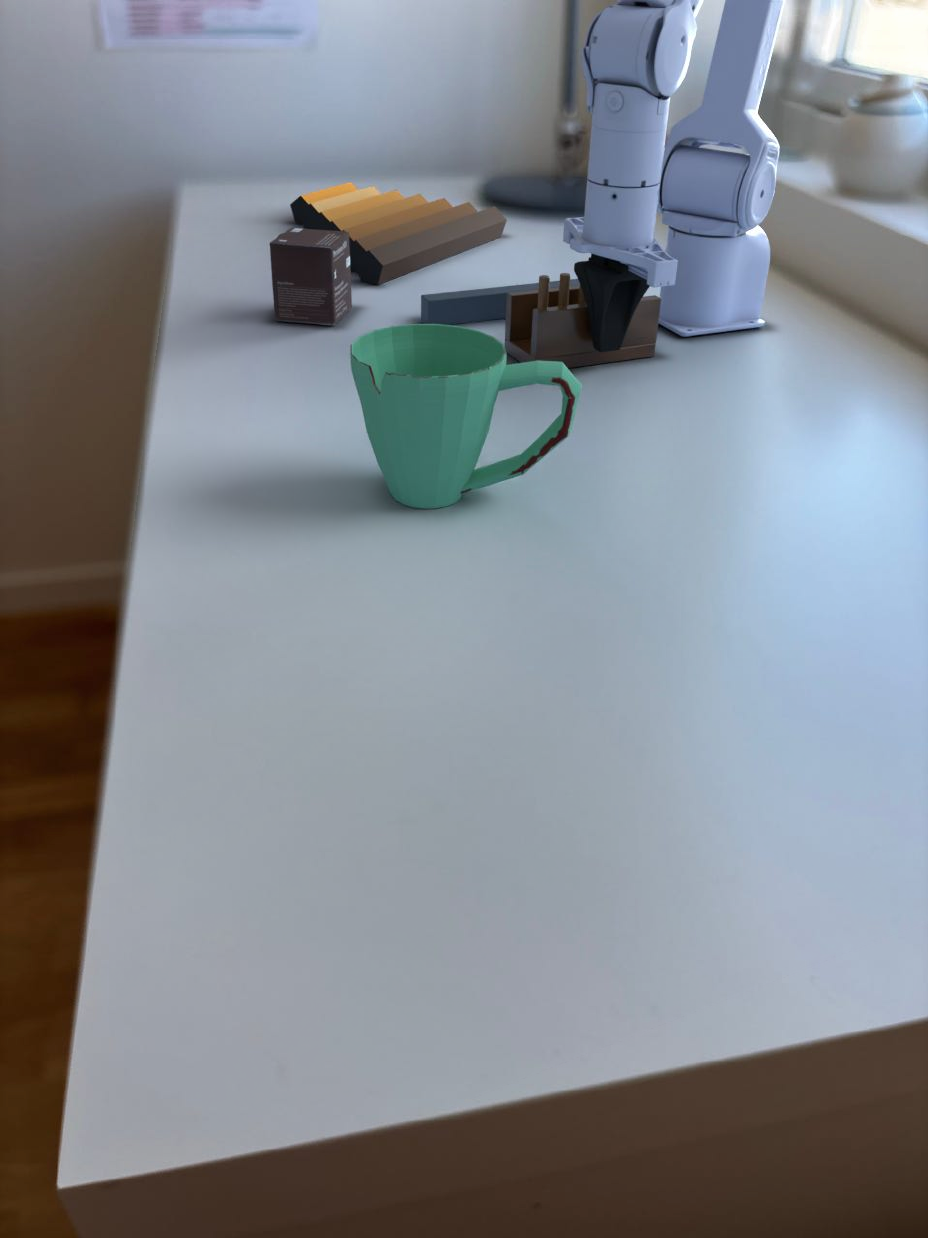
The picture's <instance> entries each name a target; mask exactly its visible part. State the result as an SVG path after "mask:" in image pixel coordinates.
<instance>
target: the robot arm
mask: <svg viewBox="0 0 928 1238" xmlns="http://www.w3.org/2000/svg"><path fill="white" fill-rule="evenodd" d="M704 1H705V0H617V2H616V4H615V3H614V4H610V5H609V7H605V8H604V10H602V11H600V12H598V13H597V14H596V15H595V16H594V17H593V19H592V20H591V22H590V24H589V27H588V29H587V33H586V35H585V40H584V45H583V47H581V69H582V75H583V78H584V81H585V85H586V100H585V106H586V107H587V113H589V114H590V115H592V116H591V130H590V141H589V154H588V164H587V165H588V166H587V177H586V179H587V180H586V188H585V189H586V191H585V200H584V201H585V202H584V212H583V213H584V215H583V216H580V217H566V218H564V223H563V237H562V242H563V243H565V244H568V245H569V248H570V250H573V251H575V252H577V253H579V254H590V257H588V260H582V261H581V260H580V261H577V262H575V263H574V265H573V272H574V274H575V276H576V279H578V280H579V282H580V285H581V288H582V290H583V293H584V297H585V301H586V305H587V309H588V315H589V321H590V328H591V335H592V342H593V347H594V349H596V350H597V351H599V352H607V351H615V350H620V348H621V346H622V343H623V340H624V338H625V335H626V332H627V329H628V327H629V324H630V322H631V319H632V317H633V314H634V312H635V310H636V308H637V306H638V304H639V302H640V300H641V299H642V297H644V296H645V294H646V292H647V291H648V290H649V289H650V287H651V288H654V289H655V288H660V290H659V297H660V298H661V305H660V313H659V321H658V325H661V326H662V327H663V328H666V329H668V330H670V331H671V332H673V333H675V334H677V335H679V336H680V337H692V336H699V335H700V336H701V335H710V334H715V333H716V334H717V333H724V332H732V331H738V330H748V329H754V328H762V327H764V326H765V324H766V322H765V320H764V319H761V316H762V309H763V304H764V303H763V302H764V297H765V291H766V285H767V281H768V280H767V279H768V275H769V274H768V273H769V268H770V264H771V263H770V262H771V246H770V242H769V239H768V236H767V234H766V233H765V231H764V230H763V229H762V227H760V226H759V225H760V224H761V223H762V222H763V221H764V220H765V218H766V217H767V215H768V213H769V211H770V209H771V206H772V204H773V199H774V197H775V191H776V184H777V169H778V168H777V167H778V162H779V157H780V144H779V141H778V139H777V138H776V137H775V135H774V134H773V132H772V131H771V130H770V129H769V127H768V126H767V125H766V123H765V122H764V121H763V120H762V119H761V117H760V115H759V114H758V111H759V106H760V103H761V98H762V95H763V90H764V86H765V83H766V79H767V75H768V70H769V67H770V62H771V58H772V54H773V50H774V46H775V42H776V37H777V33H778V30H779V25H780V22H781V18H782V13H783V9H784V5H785V1H786V0H725V1H724V4H723V9H722V13H721V18H720V22H719V27H718V29H717V35H716V40H715V45H714V48H713V51H712V57H711V62H710V66H709V70H708V74H707V77H706V78H707V79H706V82H705V87H704V92H703V95H702V96H703V97H702V101H701V104H700V106H699V107H698V108H697V109H695V110H694V111H692V112H691V113H690V114H687V115H686V116H684V118H682V119H681V120H678V121H677V122H676V123H674V124H673V125H672V126H671V127H670V131H669V134H668V137H667V128H668V120H669V113H670V112H669V111H670V105H671V104H670V103H671V96H672V95H673V94H675V93H676V91H678V89H679V88H680V86H681V84H682V82H683V81H684V79H685V78H686V75H687V72H688V69H689V65H690V62H691V61H690V60H691V55H692V48H693V43H694V40H695V38H696V36H697V30H698V25H697V22H696V18H697V15H698V14H699V11H700V9H701V8H702V5H703V3H704ZM666 137H667V141H666ZM703 146H716V147H717V146H718V147H724V148H731V149H737V150H738V149H739V150H746V151H747V153H748V154H747V153H741V152H734V151H727V150H720V149H714V148H706V147H703ZM658 213H659V214H660V215H662V219H661V224H662V225H665V226H667V227H668V228H667V233H666V242H665V248H663V246H661V244H660V243H659V242H658V241H657V240H656V238H655V231H656V223H657V214H658Z"/></svg>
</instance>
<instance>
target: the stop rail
mask: <svg viewBox="0 0 928 1238" xmlns="http://www.w3.org/2000/svg"><path fill="white" fill-rule="evenodd" d="M559 282H560V280H553V281H551V280H550V282H549V288H556V287H559ZM575 285H580V282H579V280H578V278H570V286H575ZM538 288H539V282H534V283H523V284H514V285H504V286H496V287H495V286H493V287H486V288H476V289H467V290H455V291H447V292H439V293H438V292H436V293H428V294H421V295H420V322H421V323H422V324H442V325H458V324H459V325H460V324H466V323H475V322H476V323H477V322H483V321H491V320H502V319H506V302H507V293H510V292H519V291H528V290H538Z"/></svg>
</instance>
